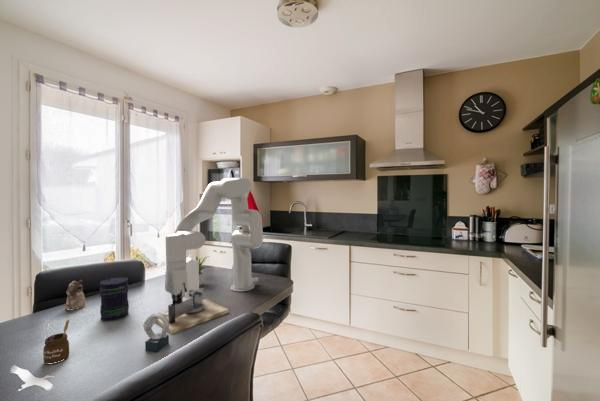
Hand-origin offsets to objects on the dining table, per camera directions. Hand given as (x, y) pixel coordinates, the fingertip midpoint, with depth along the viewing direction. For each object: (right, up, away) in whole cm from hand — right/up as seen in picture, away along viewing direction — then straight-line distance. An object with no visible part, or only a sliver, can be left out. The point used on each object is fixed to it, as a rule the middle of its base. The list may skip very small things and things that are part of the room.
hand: (177, 308), depth 113 cm
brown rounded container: (-25, -5, -28) cm, 37 cm away
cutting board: (+5, -4, +3) cm, 7 cm away
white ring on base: (+2, -5, -21) cm, 22 cm away
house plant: (-8, -3, +44) cm, 45 cm away
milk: (-2, -4, +19) cm, 20 cm away
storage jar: (-27, -4, +3) cm, 28 cm away
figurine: (-51, -4, +12) cm, 53 cm away
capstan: (+4, -2, 0) cm, 4 cm away
